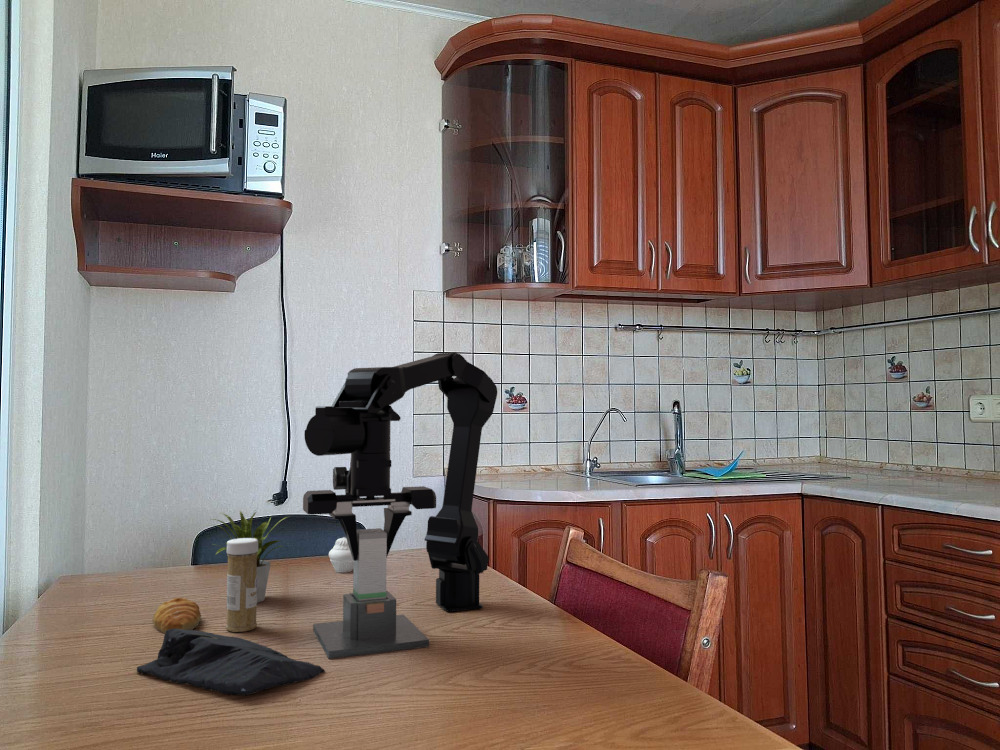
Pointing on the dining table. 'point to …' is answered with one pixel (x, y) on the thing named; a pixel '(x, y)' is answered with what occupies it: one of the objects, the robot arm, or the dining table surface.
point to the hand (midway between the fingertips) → (369, 559)
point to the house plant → (262, 565)
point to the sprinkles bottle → (242, 584)
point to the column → (370, 565)
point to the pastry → (177, 615)
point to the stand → (368, 629)
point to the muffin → (341, 556)
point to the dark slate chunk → (224, 663)
